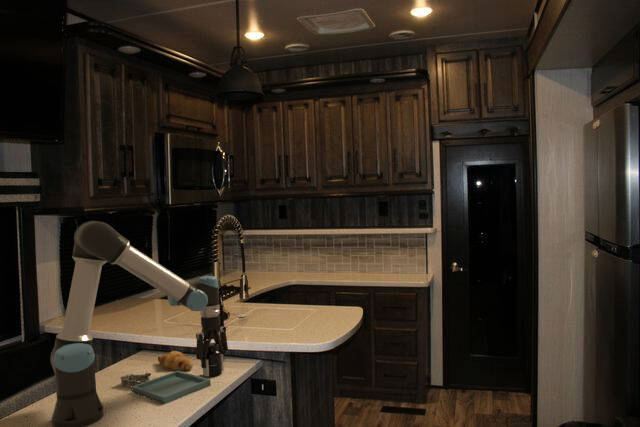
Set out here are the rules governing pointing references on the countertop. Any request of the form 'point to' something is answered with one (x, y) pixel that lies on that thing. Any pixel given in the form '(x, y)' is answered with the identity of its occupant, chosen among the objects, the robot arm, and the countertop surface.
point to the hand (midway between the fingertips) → (213, 372)
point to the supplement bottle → (214, 360)
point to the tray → (171, 386)
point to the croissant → (175, 361)
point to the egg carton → (131, 379)
